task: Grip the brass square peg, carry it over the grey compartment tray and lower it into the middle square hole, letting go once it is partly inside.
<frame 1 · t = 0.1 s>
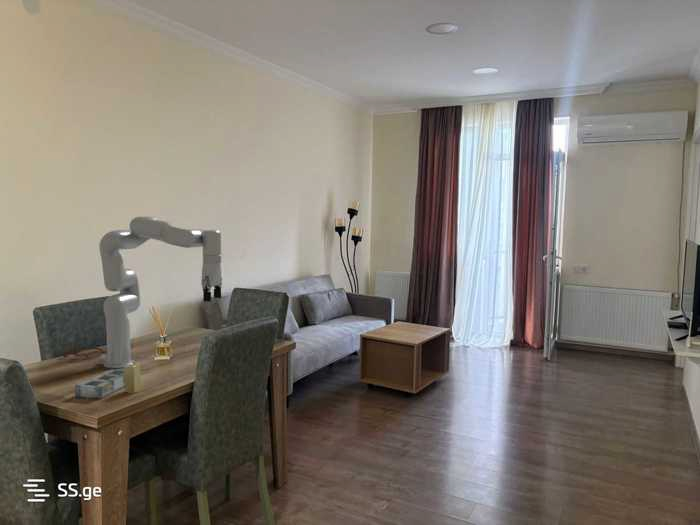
hand: (212, 299, 224), 31 cm above the table, tool pointing down, fingers open, 9 cm apart
grey compartment tray: (106, 389, 201), on the table
peg: (132, 391, 199), on the table
glasses: (84, 356, 250), on the table
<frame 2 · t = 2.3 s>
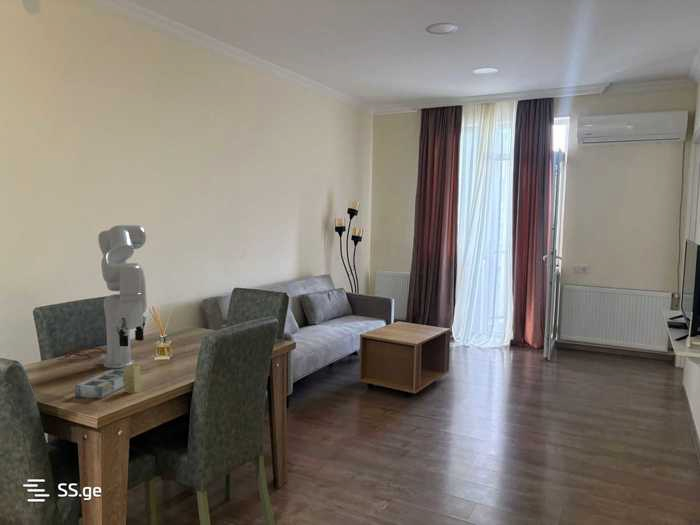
hand: (131, 343, 197), 19 cm above the table, tool pointing down, fingers open, 9 cm apart
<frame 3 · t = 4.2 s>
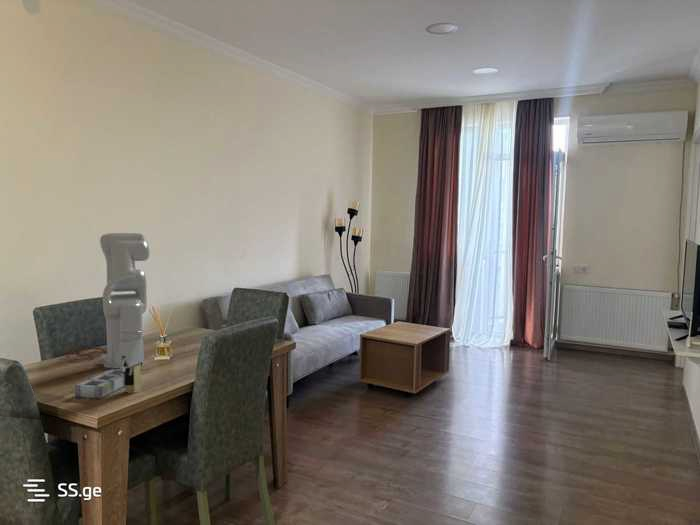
hand: (132, 382, 199), 3 cm above the table, tool pointing down, fingers closed on peg, 4 cm apart
peg: (132, 391, 199), on the table, touching gripper
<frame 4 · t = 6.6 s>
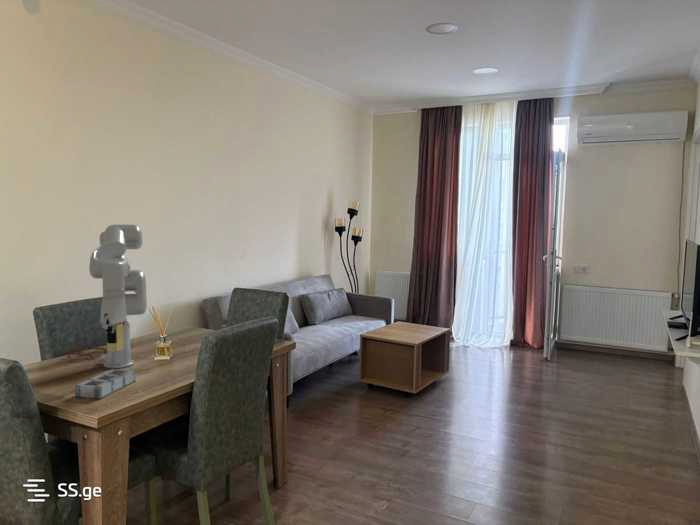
hand: (115, 341, 199), 19 cm above the table, tool pointing down, fingers closed on peg, 4 cm apart
peg: (115, 349, 200), point 15 cm above the table, touching gripper
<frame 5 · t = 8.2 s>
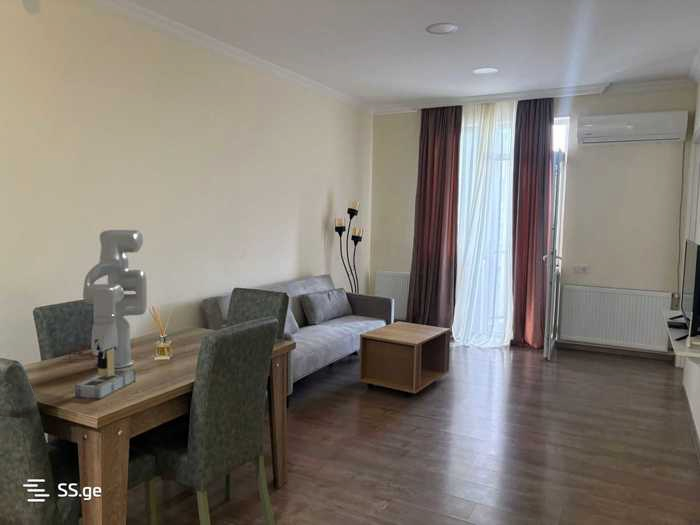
hand: (106, 366, 201), 9 cm above the table, tool pointing down, fingers closed on peg, 4 cm apart
peg: (106, 374, 201), point 6 cm above the table, touching gripper
when the fingers open (5 cm above the table, at t = 9.3 s): peg drops 1 cm, resting on grey compartment tray.
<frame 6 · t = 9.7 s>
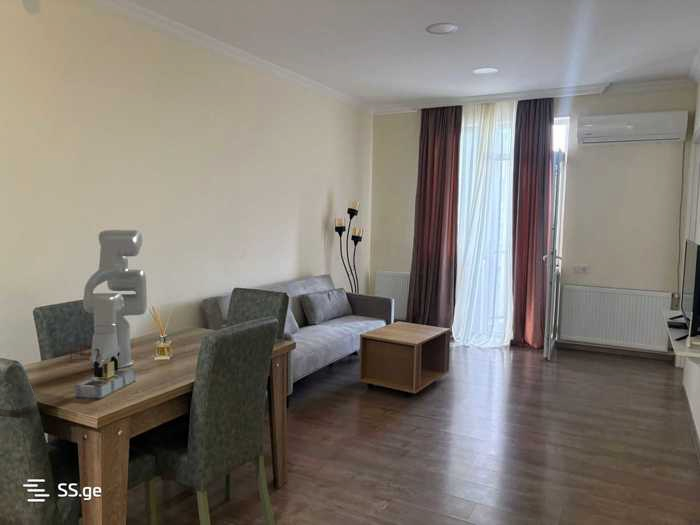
hand: (106, 373, 201), 6 cm above the table, tool pointing down, fingers open, 8 cm apart
peg: (106, 387, 201), resting on grey compartment tray
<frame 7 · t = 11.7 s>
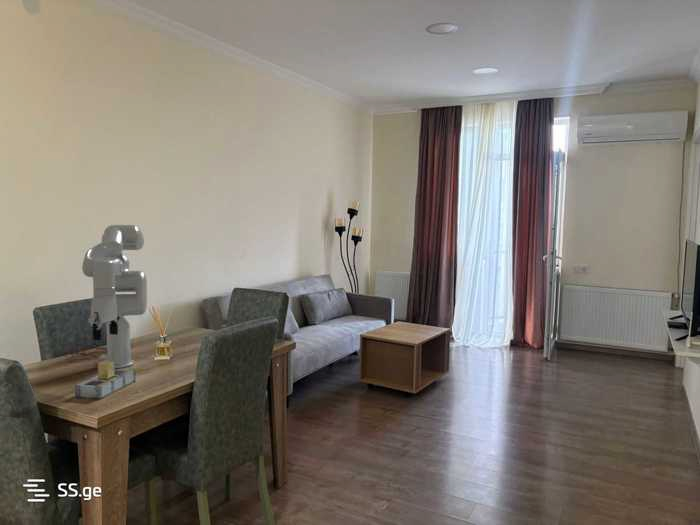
hand: (105, 337, 200), 20 cm above the table, tool pointing down, fingers open, 9 cm apart
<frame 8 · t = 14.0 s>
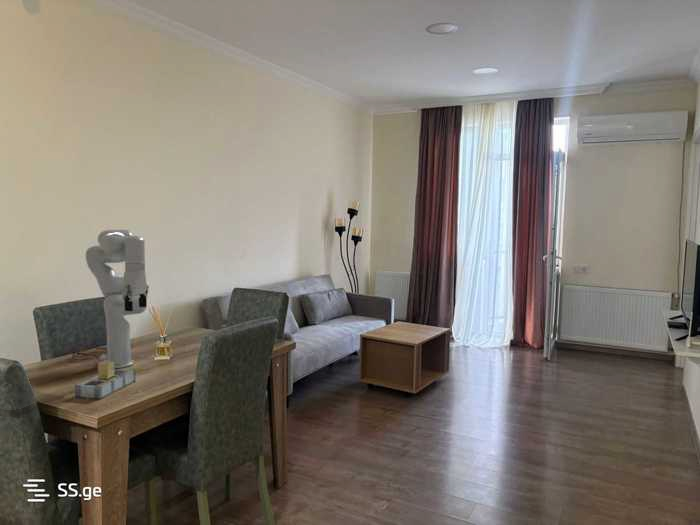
hand: (136, 308, 215), 28 cm above the table, tool pointing down, fingers open, 9 cm apart
at the end: peg 0.1 cm off-centre on the grey compartment tray, point 0.5 cm above the grey compartment tray's base; peg tilted 0°; the gripper is holding nothing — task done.
